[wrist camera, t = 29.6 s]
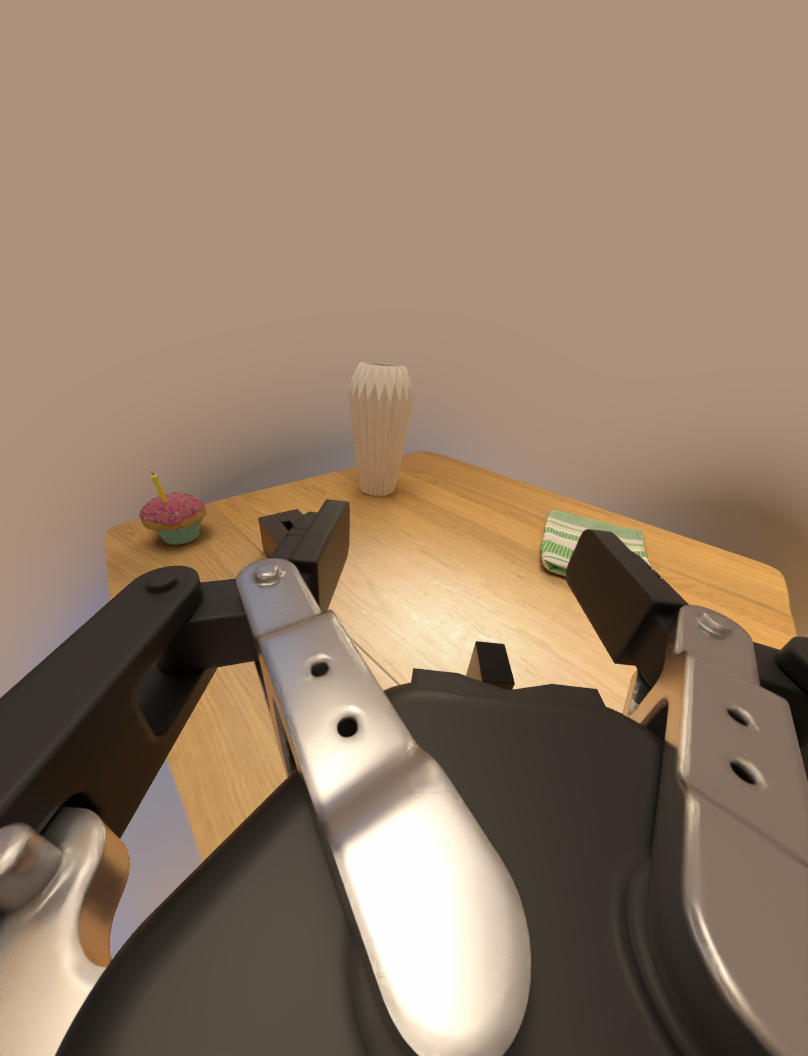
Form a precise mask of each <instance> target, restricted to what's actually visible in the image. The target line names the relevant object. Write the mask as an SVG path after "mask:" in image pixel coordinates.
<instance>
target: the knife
mask: <svg viewBox="0 0 808 1056" xmlns="http://www.w3.org/2000/svg"><path fill="white" fill-rule="evenodd" d="M466 676H467V677H470V678H473V679H476V680H479V681H482V682H485V683H488V684H491V685H493V686H496V687H499V688H502V689H506V690H512V689H513V687H514V684H515V683H514V679H513V675H512V671H511V667H510V664H509V660H508V656H507V652H506V649H505V645H504V644H498V643H488V642H479V641H476V643H475V646H474V650H473V653H472V657H471V660H470V664H469V667H468V671H467V674H466Z"/></svg>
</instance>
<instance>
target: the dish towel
mask: <svg viewBox="0 0 808 1056" xmlns="http://www.w3.org/2000/svg"><path fill="white" fill-rule="evenodd" d="M586 529H593V530H602V531H611V532H613V533H614V534H615V535H616V536H617V537H618V538H619V539H620V540H621V541H622V542H623V543H624V544H625V545H626V546H627V547H628V548H629V549H630V550H631V551H632V552H634V553H635V554H637V555H639V556H640V557H642V558H643V559H644V560H645V561H646V562H647V563H648V564H649V565H650V563H649V562H648V557H647V554H646V553H645V549H644V546H645V538H644V537H643V533H642V531H640V530H636V529H629V528H622V527H618V526H614V525H611V524H607V523H604V522H600V521H597V520H593V519H589V518H585V517H581V516H577V515H574V514H571V513H567V512H562V511H556V510H551V511H549V513H548V517H547V521H546V525H545V529H544V536H543V540H542V544H541V550H540V552H541V557H542V563H543V565H544V566H545V568H546V569H547V570H548V571H550V572H553V573H556V574H559V575H562V576H565V577H566V569H567V566H568V563H569V561H570V559H571V556H572V554H573V552H574V549H575V547H576V545H577V543H578V540H579V538H580V536H581V534H582V532H583V531H584V530H586ZM650 566H651V565H650ZM652 570H653V569H652Z"/></svg>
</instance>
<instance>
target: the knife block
mask: <svg viewBox="0 0 808 1056" xmlns="http://www.w3.org/2000/svg"><path fill="white" fill-rule="evenodd" d="M301 516H303V514H302V513H301V512H300V511H299V510H298V509H296V510H291V511H286V512H283V513H277V514H273V515H269V516H264V517H259V518H258V519H259V525H260V532H261V538H262V544H263V550H264V552H265V554H266V555H267V557H268V558H269V557H270V556H271V554H272V553H273V552H274V550H275V549H276V548H277V546H278V545H279V544H280V542H281V541H282V539H283V538H284V537H285V536H286V535H287V533H288V531H289V530H290V529H292V526H293V524H294V523H295V522H296V520H297V519H298V518H299V517H301Z"/></svg>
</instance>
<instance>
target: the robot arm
mask: <svg viewBox="0 0 808 1056" xmlns="http://www.w3.org/2000/svg"><path fill="white" fill-rule="evenodd" d="M349 528H350V506H349V502H346V501H337V500H328V499H327V500H326V501H325V502H324V504H323V505H322V507H321V508H320V510H319V512H318V513H317V512H308V513H306V514H305V515H303V516H301V517H299V518H298V519H297V520H296V522H295V523H294V524H293V526H292V529H290V530H289V531H288V533H287V535H286V536H285V537H284V538H283V539H282V541H281V542H280V544H279V545H278V546H277V548H276V549H275V550H274V552H273V553H272V554H271V556H270V557H269V559H263V560H259V561H255V562H253V563H251V564H249V565H247V566H246V567H244V568H243V569H242V570H241V571H240V572H239V573H238V575H237V577H236V579H230V580H221V581H211V582H200V579H199V575H198V573H197V572H196V571H195V570H194V569H192V568H190V567H186V566H169V567H163V568H159V569H155V570H152V571H150V572H147V573H145V574H143V575H141V576H139V577H138V578H136V579H135V580H133V581H132V582H131V583H130V584H129V585H127V586H126V587H125V588H124V589H123V590H122V591H121V592H120V593H118V594H117V595H116V596H115V597H114V598H113V599H112V600H111V601H109V602H108V603H107V604H106V605H105V606H104V607H103V608H102V609H101V610H99V611H98V612H97V613H96V614H95V615H94V616H93V617H91V618H90V619H89V620H88V621H87V622H86V623H85V624H84V625H82V626H81V627H80V628H79V629H78V630H77V631H76V632H75V633H74V634H72V635H71V636H70V637H69V638H68V639H67V640H65V641H64V642H63V643H62V644H61V645H60V646H59V647H58V648H56V649H55V650H54V651H53V652H52V653H51V654H50V655H49V656H48V657H46V658H45V659H44V660H43V661H42V662H41V663H40V664H38V665H37V666H36V667H35V668H34V669H33V670H32V671H31V672H29V673H28V674H27V675H26V676H25V677H24V678H23V679H22V680H20V681H19V682H18V683H17V684H16V685H15V686H14V687H13V688H11V689H10V690H9V691H8V692H7V693H6V694H5V695H3V696H2V697H1V698H0V1056H808V638H806V637H794V638H792V639H791V640H790V641H789V642H788V643H787V644H786V645H785V646H784V647H783V648H782V649H781V650H778V649H775V648H772V647H768V646H765V645H762V644H759V643H755V642H753V641H752V638H751V637H750V635H749V634H748V633H747V632H746V631H745V630H744V629H743V628H742V627H741V626H740V625H738V624H737V623H736V622H734V621H733V620H731V619H729V618H728V617H726V616H724V615H722V614H720V613H718V612H716V611H713V610H711V609H708V608H705V607H701V606H696V605H689V604H688V603H687V602H686V601H685V600H684V599H683V598H682V597H681V596H680V595H679V594H678V593H677V592H676V591H675V590H674V589H673V588H672V587H671V586H670V585H669V584H668V583H667V582H666V581H665V580H664V579H661V578H660V577H661V576H660V575H659V574H658V573H657V572H656V571H655V570H652V567H651V566H650V565H649V564H648V563H647V562H646V561H645V560H644V559H643V558H642V557H640V556H639V555H637V554H635V553H634V552H632V551H631V550H630V549H629V548H628V547H627V546H626V545H625V544H624V543H623V542H622V541H621V540H620V539H619V538H618V537H617V536H616V535H615V534H614V533H613V532H611V531H602V530H593V529H586V530H584V531H583V532H582V534H581V536H580V538H579V540H578V543H577V545H576V547H575V549H574V552H573V554H572V556H571V559H570V561H569V563H568V566H567V569H566V580H567V583H568V585H569V587H570V588H571V590H572V592H573V594H574V595H575V597H576V599H577V600H578V602H579V604H580V606H581V607H582V609H583V611H584V612H585V614H586V616H587V617H588V619H589V621H590V623H591V624H592V626H593V628H594V629H595V631H596V633H597V634H598V636H599V638H600V640H601V641H602V643H603V645H604V646H605V648H606V650H607V652H608V653H609V655H610V657H611V658H612V660H613V662H614V663H615V664H624V665H633V666H636V667H637V670H636V672H635V673H634V674H633V676H632V678H631V681H630V685H629V689H628V693H627V697H626V701H625V705H624V709H623V713H619V712H617V711H615V710H613V709H610V708H608V707H606V706H605V704H604V702H603V700H602V698H601V696H600V694H599V692H598V690H597V689H591V688H582V687H574V686H565V685H556V684H549V685H542V686H535V687H528V688H521V689H514V690H506V689H502V688H499V687H496V686H493V685H491V684H488V683H485V682H482V681H479V680H476V679H473V678H470V677H467V676H464V675H462V674H459V673H451V672H442V671H433V670H424V669H415V668H413V673H412V679H411V683H407V684H402V685H398V686H394V687H391V688H389V689H386V690H384V691H383V690H382V688H381V686H380V685H379V683H378V682H377V680H376V678H375V677H374V675H373V674H372V672H371V670H370V669H369V667H368V666H367V664H366V662H365V661H364V659H363V658H362V656H361V654H360V653H359V651H358V650H357V648H356V646H355V645H354V643H353V642H352V640H351V638H350V637H349V635H348V634H347V632H346V630H345V629H344V627H343V626H342V624H341V622H340V621H339V619H338V618H337V616H336V615H335V613H334V612H333V611H331V610H328V607H329V605H330V602H331V599H332V597H333V594H334V591H335V588H336V586H337V583H338V580H339V578H340V575H341V572H342V570H343V567H344V564H345V561H346V559H347V555H348V550H349ZM327 610H328V611H327ZM251 661H253V662H254V665H255V668H256V671H257V675H258V678H259V681H260V685H261V688H262V691H263V694H264V698H265V701H266V704H267V708H268V711H269V714H270V717H271V721H272V724H273V728H274V732H275V736H276V740H277V744H278V747H279V751H280V754H281V758H282V761H283V765H284V768H285V771H286V775H287V779H286V780H285V781H284V782H283V783H282V784H281V785H280V786H279V787H278V788H277V789H276V790H275V791H274V792H273V793H272V794H271V795H270V796H269V797H268V798H267V799H266V800H265V801H264V802H263V803H262V804H261V805H260V806H259V807H258V808H257V809H256V810H255V811H254V812H253V813H252V814H251V815H250V816H249V817H248V818H247V819H246V820H245V821H244V822H243V823H242V824H241V825H240V826H239V827H238V828H237V829H236V830H235V831H234V832H233V833H232V834H231V835H230V836H229V837H228V838H227V839H226V840H225V841H223V842H222V843H221V844H220V845H219V846H218V847H217V848H216V849H215V850H214V851H213V852H212V853H211V854H210V855H209V856H208V857H207V858H206V859H205V860H204V861H203V862H202V863H201V864H200V865H199V866H198V868H196V869H195V870H194V871H193V873H192V874H190V875H189V876H188V877H187V878H186V879H185V880H184V881H183V882H182V883H181V884H180V885H179V886H178V887H177V888H176V889H175V890H174V892H172V893H171V894H170V895H169V896H168V898H166V899H165V900H164V901H163V902H162V903H161V904H160V905H159V906H158V907H157V908H156V909H155V910H154V911H153V912H152V913H151V914H150V915H149V916H148V917H147V918H146V919H145V921H144V922H143V923H142V924H141V925H140V926H139V927H138V928H137V929H136V931H135V932H134V933H133V934H132V935H131V937H130V938H129V939H128V940H127V941H126V942H125V944H124V945H123V946H122V947H121V949H120V950H119V951H118V953H117V954H116V955H115V957H114V958H113V959H111V953H110V933H111V926H112V922H113V918H114V915H115V911H116V909H117V906H118V904H119V901H120V899H121V896H122V894H123V891H124V889H125V886H126V883H127V879H128V875H129V868H130V857H129V854H128V850H127V848H126V846H125V844H124V843H123V842H122V841H121V840H120V838H121V836H122V835H123V833H124V831H125V829H126V828H127V826H128V824H129V822H130V821H131V819H132V817H133V815H134V814H135V812H136V810H137V808H138V807H139V805H140V803H141V801H142V799H143V798H144V796H145V794H146V792H147V791H148V789H149V787H150V785H151V784H152V782H153V780H154V778H155V777H156V775H157V773H158V771H159V770H160V768H161V766H162V764H163V763H164V761H165V759H166V757H167V756H168V754H169V752H170V750H171V749H172V747H173V745H174V743H175V742H176V740H177V738H178V736H179V734H180V733H181V731H182V729H183V727H184V726H185V724H186V722H187V720H188V719H189V717H190V715H191V713H192V712H193V710H194V708H195V706H196V705H197V703H198V701H199V699H200V698H201V696H202V694H203V692H204V691H205V689H206V687H207V685H208V684H209V682H210V680H211V678H212V677H213V675H214V673H215V671H216V669H217V668H218V667H222V666H228V665H233V664H239V663H245V662H251Z"/></svg>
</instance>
